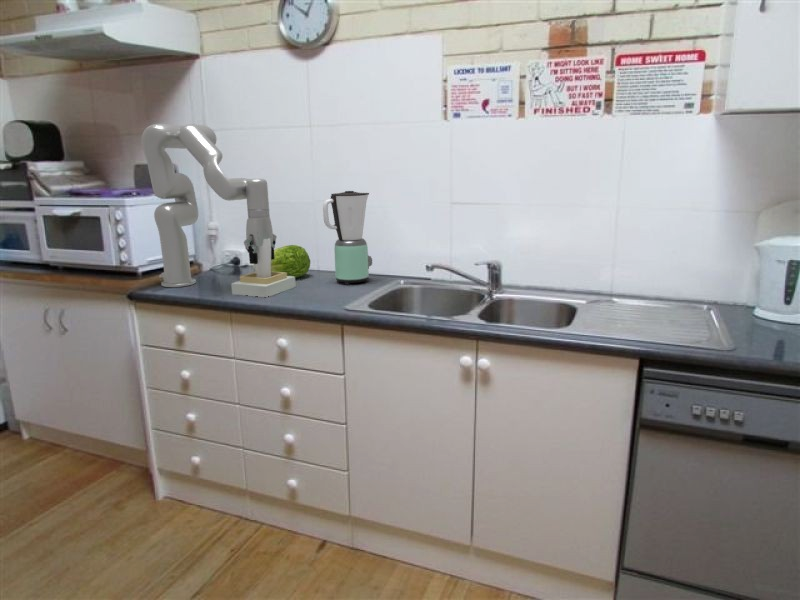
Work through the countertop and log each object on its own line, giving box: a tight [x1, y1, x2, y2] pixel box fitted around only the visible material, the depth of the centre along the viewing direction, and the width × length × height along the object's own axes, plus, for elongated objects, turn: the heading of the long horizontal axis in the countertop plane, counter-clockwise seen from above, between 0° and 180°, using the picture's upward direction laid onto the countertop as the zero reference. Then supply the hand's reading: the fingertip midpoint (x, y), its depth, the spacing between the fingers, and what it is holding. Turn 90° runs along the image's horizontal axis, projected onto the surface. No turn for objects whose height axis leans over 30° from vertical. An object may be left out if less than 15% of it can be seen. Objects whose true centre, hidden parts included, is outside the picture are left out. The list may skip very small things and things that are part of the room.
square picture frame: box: [230, 271, 297, 298], centre depth 198 cm, size 15×19×6 cm
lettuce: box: [252, 244, 311, 279], centre depth 220 cm, size 15×24×14 cm, turn 72°
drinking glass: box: [253, 238, 271, 278], centre depth 196 cm, size 7×7×15 cm
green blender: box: [322, 190, 373, 286], centre depth 206 cm, size 19×13×35 cm
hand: (262, 261), depth 196 cm, fingers open, 9 cm apart
